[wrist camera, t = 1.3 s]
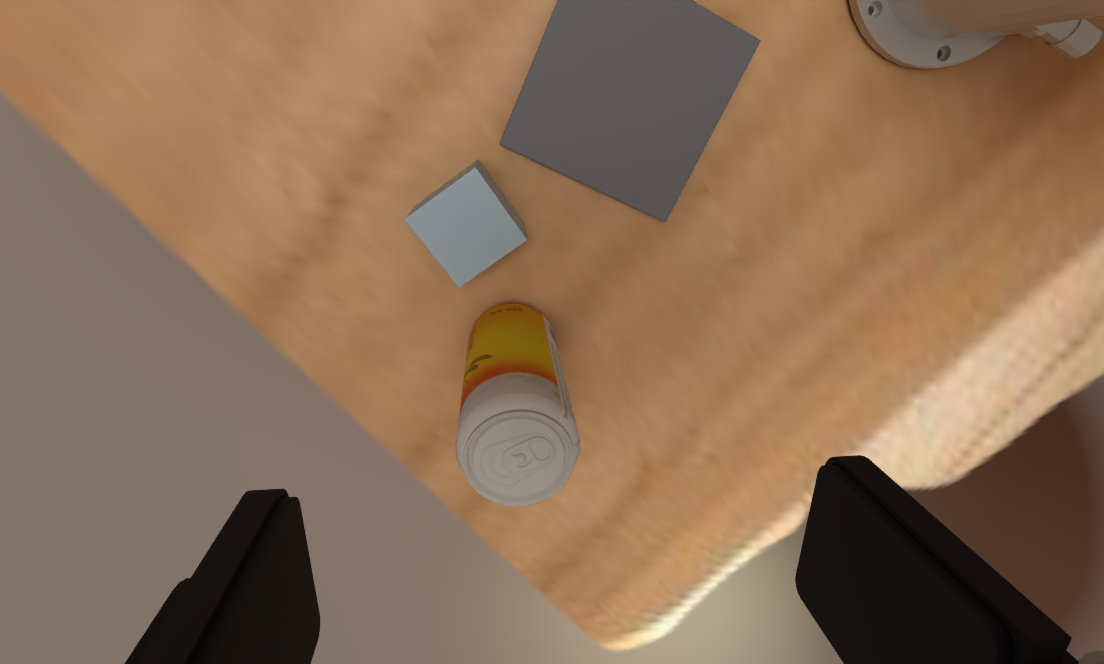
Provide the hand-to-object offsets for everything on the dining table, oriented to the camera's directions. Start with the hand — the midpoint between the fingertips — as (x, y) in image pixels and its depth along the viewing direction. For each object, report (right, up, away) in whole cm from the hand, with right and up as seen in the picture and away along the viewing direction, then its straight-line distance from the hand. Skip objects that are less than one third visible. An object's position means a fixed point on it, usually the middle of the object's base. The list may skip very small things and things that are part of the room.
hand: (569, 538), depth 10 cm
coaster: (+4, +19, +25) cm, 31 cm away
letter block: (-6, +11, +27) cm, 30 cm away
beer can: (-3, +3, +30) cm, 31 cm away
